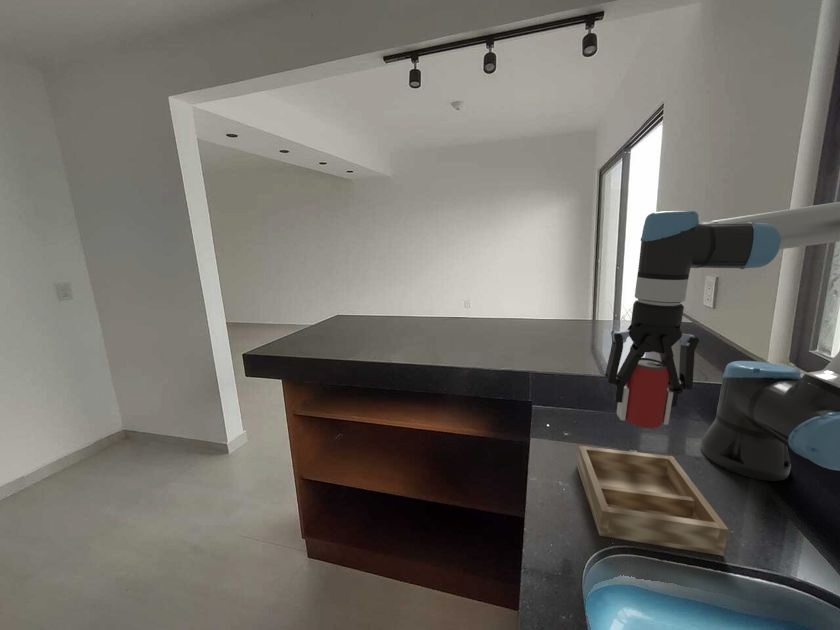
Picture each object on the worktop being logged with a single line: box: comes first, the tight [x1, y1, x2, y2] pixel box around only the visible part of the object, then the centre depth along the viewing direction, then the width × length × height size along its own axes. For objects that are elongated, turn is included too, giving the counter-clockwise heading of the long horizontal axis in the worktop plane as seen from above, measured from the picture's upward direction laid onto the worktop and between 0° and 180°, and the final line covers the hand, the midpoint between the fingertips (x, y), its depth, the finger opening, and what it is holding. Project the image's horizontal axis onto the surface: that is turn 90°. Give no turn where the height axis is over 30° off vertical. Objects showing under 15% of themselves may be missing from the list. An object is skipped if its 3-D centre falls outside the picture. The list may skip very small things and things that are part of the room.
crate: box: [576, 445, 729, 557], centre depth 68 cm, size 18×19×5 cm
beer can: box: [625, 357, 669, 429], centre depth 67 cm, size 7×7×12 cm
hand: (641, 418), depth 68 cm, fingers closed on beer can, 7 cm apart
